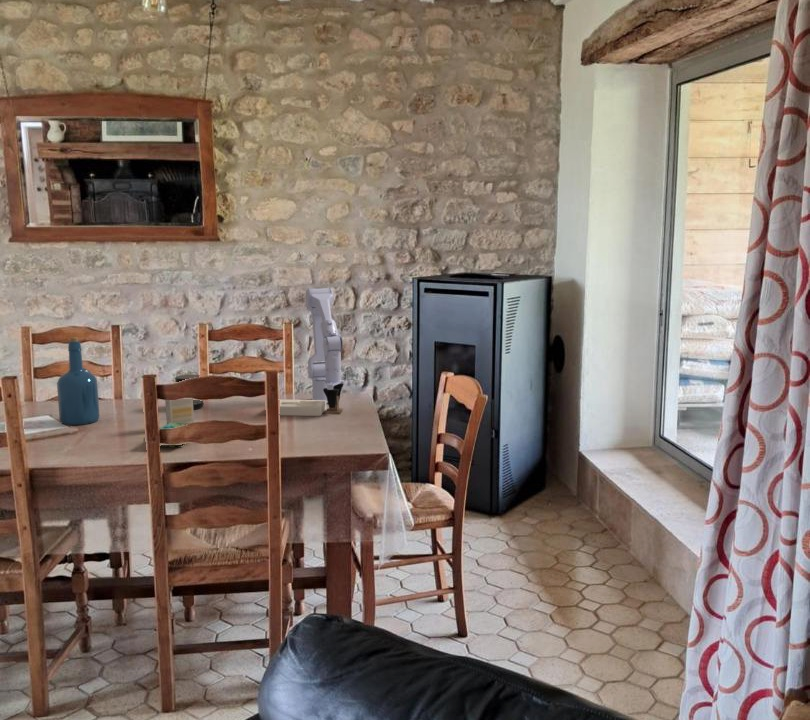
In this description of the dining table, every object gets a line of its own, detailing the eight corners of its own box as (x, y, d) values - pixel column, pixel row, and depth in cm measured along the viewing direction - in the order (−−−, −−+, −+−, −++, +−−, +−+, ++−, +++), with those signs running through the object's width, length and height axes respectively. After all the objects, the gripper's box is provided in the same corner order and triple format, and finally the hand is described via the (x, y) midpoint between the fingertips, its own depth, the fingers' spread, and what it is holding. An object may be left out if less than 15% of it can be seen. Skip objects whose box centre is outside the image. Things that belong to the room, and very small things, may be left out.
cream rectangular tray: (274, 407, 307) (273, 399, 307) (326, 408, 306) (326, 400, 305) (265, 415, 296) (265, 406, 295) (320, 415, 294) (320, 407, 293)
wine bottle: (92, 426, 281) (85, 339, 276) (53, 426, 281) (46, 340, 276) (106, 416, 294) (100, 334, 290) (69, 417, 294) (63, 334, 289)
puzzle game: (204, 421, 268) (179, 436, 249) (204, 435, 269) (180, 451, 250) (170, 420, 270) (143, 435, 250) (171, 434, 271) (144, 450, 251)
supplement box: (189, 425, 281) (187, 387, 279) (194, 427, 278) (192, 390, 275) (166, 428, 277) (164, 390, 275) (170, 431, 273) (168, 393, 271)
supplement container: (178, 405, 313) (177, 374, 311) (206, 404, 314) (204, 373, 312) (172, 411, 303) (170, 379, 301) (201, 410, 303) (199, 379, 302)
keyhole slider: (328, 410, 302) (327, 395, 301) (342, 411, 302) (342, 395, 301) (325, 414, 297) (324, 398, 296) (340, 414, 296) (340, 398, 295)
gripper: (340, 372, 289) (341, 409, 291) (347, 365, 303) (348, 401, 306) (321, 372, 290) (321, 409, 292) (328, 365, 304) (329, 400, 306)
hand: (334, 405), depth 299 cm, fingers open, 7 cm apart
